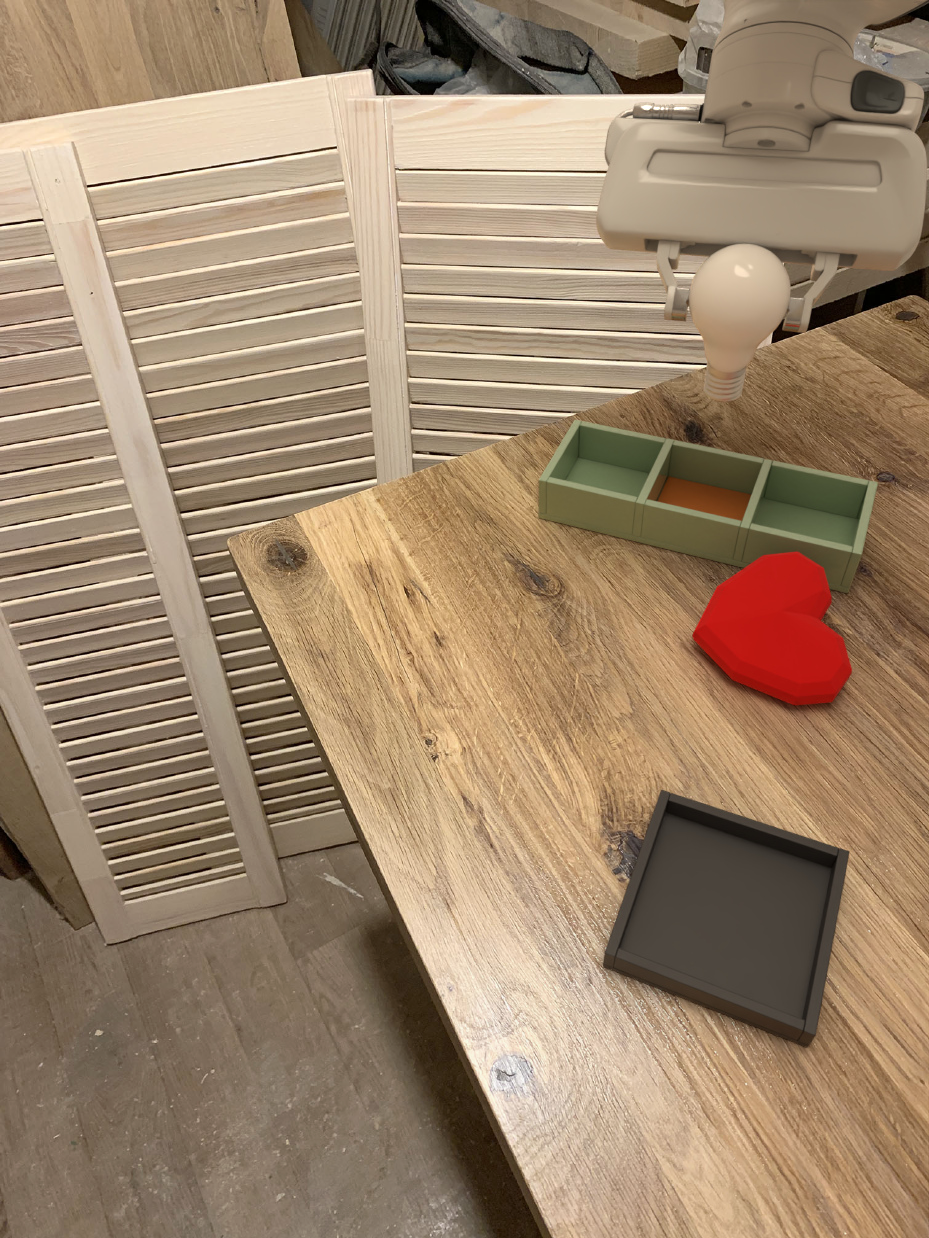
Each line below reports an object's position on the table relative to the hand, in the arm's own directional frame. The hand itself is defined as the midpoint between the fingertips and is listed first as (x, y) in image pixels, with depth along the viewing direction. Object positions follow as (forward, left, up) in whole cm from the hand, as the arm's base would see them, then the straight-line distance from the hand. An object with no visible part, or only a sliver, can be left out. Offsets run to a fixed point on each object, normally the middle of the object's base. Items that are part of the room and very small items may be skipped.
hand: (734, 324), depth 61 cm
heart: (-7, +10, -19) cm, 23 cm away
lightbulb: (0, -1, -6) cm, 6 cm away
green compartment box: (0, -2, -19) cm, 19 cm away
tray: (-10, +31, -19) cm, 37 cm away
